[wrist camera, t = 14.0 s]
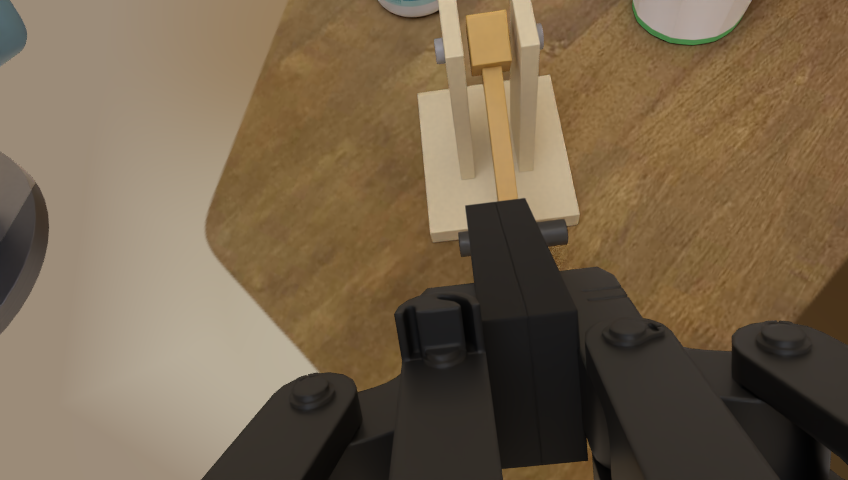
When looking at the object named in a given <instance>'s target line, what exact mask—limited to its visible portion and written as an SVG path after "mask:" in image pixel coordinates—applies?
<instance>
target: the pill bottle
mask: <svg viewBox="0 0 848 480" xmlns="http://www.w3.org/2000/svg"><path fill="white" fill-rule="evenodd" d="M378 1H379V3H380V4H381V5H382V6H383V7H384V8H385V9H387V10H388V11H390V12H392V13H394V14H396V15H400V16H404V17H420V16H426V15H429V14H432V13H434V12H436V11H438V10H439V4H438V0H378Z"/></svg>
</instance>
